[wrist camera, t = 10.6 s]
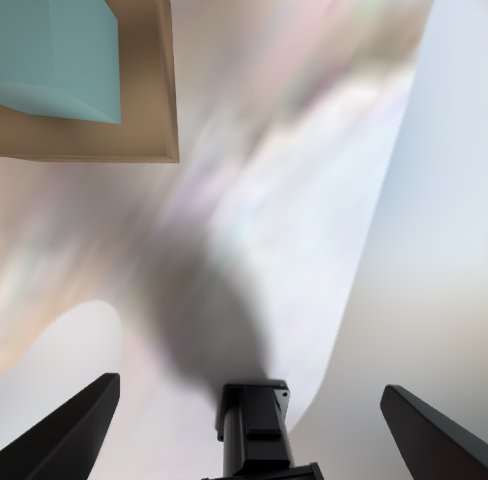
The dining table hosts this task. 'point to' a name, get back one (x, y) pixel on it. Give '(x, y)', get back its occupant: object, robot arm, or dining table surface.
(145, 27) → the walnut block
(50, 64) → the teal cube
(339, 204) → the dining table surface
